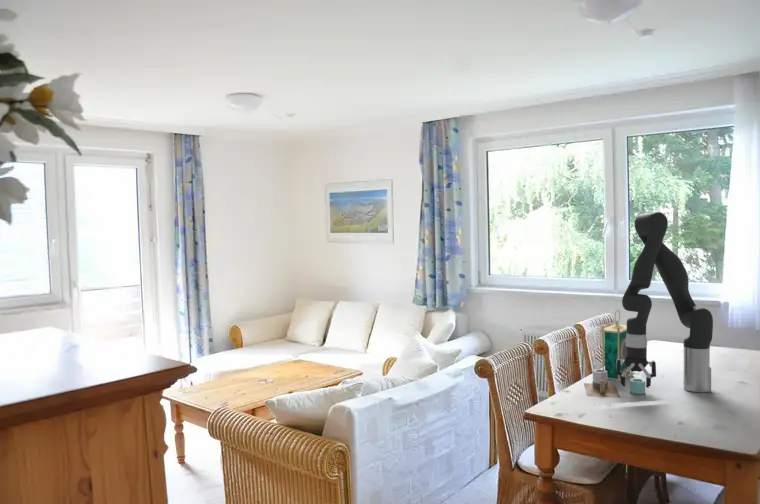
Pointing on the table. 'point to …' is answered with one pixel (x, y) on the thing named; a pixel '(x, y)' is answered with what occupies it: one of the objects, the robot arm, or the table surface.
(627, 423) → the table surface
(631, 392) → the teal sleeve
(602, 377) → the grey sleeve
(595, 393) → the brown peg stand
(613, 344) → the carriage clock
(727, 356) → the table surface
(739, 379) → the table surface
